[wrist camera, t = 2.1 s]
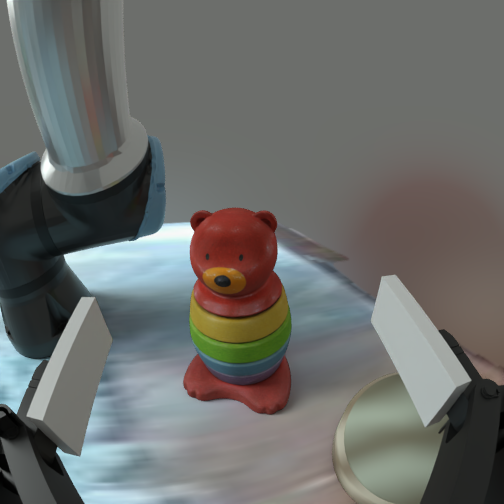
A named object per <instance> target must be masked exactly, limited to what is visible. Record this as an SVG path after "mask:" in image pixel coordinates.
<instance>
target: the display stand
mask: <svg viewBox="0 0 504 504" xmlns="http://www.w3.org/2000/svg"><path fill="white" fill-rule="evenodd" d="M448 420H449V418H448V416H447V414H446V415H445V416H444V417H443V418H442V420H441V421H440V422H438V423H435V424H433V425H431V426H428V427H426V428H425V426H424V424H423V422H422V420H421V418H420V416H419V414H418V411H417V409H416V407H415V405H414V403H413V401H412V399H411V397H410V395H409V393H408V391H407V389H406V387H405V385H404V383H403V381H402V379H401V377H400V375H399V373H398V372H396V373H392V374H388V375H385V376H382V377H380V378H378V379H376V380H374V381H372V382H371V383H369V384H367V385H366V386H365V387H364V388H362V389H361V390H360V391H359V392H358V393H357V394H356V395H355V396H354V397H353V399H352V400H351V401H350V403H349V404H348V406H347V408H346V410H345V412H344V414H343V416H342V418H341V420H340V422H339V425H338V427H337V430H336V432H335V435H334V440H333V447H332V458H333V465H334V469H335V473H336V475H337V478H338V480H339V482H340V484H341V485H342V487H343V489H344V490H345V491H346V492H347V494H348V495H349V496H350V497H351V498H352V499H353V500H354V501H355V502H357V503H358V504H420V502H421V499H422V497H423V494H424V492H425V489H426V487H427V484H428V481H429V479H430V476H431V473H432V470H433V467H434V464H435V461H436V458H437V455H438V452H439V448H440V445H441V441H442V438H443V434H444V430H445V429H444V430H443V431H442V432H441V433H440V434H439V433H438V432H439V430H440V429H441V428H442V426H443V425H444V424H445V423H446V422H447V421H448Z"/></svg>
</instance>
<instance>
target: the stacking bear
mask: <svg viewBox="0 0 504 504" xmlns="http://www.w3.org/2000/svg"><path fill="white" fill-rule="evenodd" d="M190 223H191V227H192V228H193V230H194V235H193V237H192V240H191V245H190V260H191V265H192V268H193V270H194V273H195V274H196V276H197V277H198V280H197V281H196V283H195V285H194V289H193V291H192V295H191V302H190V315H189V323H190V333H191V337H192V341H193V344H194V346H195V349H196V351H197V353H198V354H197V355H196V356H195V358H194V359H193V360H192V362H191V363H190V365H189V367H188V369H187V371H186V373H185V376H184V381H183V384H184V388H185V389H186V390H187V393H188V395H189V396H191V397H193V398H197V399H198V400H201V401H208V400H212V399H218V398H228V399H233V400H237V401H240V402H242V403H244V404H245V405H247V406H248V407H249V408H250V409H252V410H253V411H255V412H257V413H267V414H273V413H275V412H276V411H278V410H281V409H283V408H284V407H285V405H286V404H287V401H288V398H289V394H290V388H291V375H290V369H289V365H288V362H287V359H286V357H285V352H286V350H287V347H288V343H289V339H290V335H291V314H290V308H289V305H288V301H287V296H286V293H285V290H284V287H283V285H282V283H281V280H280V279H279V277H278V276H277V274H276V273H275V272H274V271H273V269H274V266H275V263H276V260H277V240H276V236H275V233H274V232H275V230H276V228H277V221H276V218H275V216H274V215H273V214H272V213H270V212H268V211H259V212H257V213H255V212H253V211H250V210H247V209H242V208H228V209H223V210H219V211H217V212H215V213H210V212H208V211H204V210H202V211H198V212H196V213H194V215H193V216H192V218H191V221H190Z"/></svg>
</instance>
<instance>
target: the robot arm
mask: <svg viewBox="0 0 504 504" xmlns="http://www.w3.org/2000/svg"><path fill="white" fill-rule="evenodd" d="M7 5H8V12H9V19H10V25H11V30H12V35H13V40H14V45H15V49H16V54H17V58H18V62H19V66H20V70H21V74H22V77H23V81H24V84H25V88H26V91H27V95H28V98H29V101H30V104H31V107H32V110H33V113H34V116H35V119H36V122H37V125H38V127H39V130H40V133H41V135H42V138H43V141H44V143H45V146H46V150H45V152H44V154H43V157H42V160H41V162H39V161H40V157H39V156H38V154H37V153H36V152H32V153H30V154H28V155H25V156H23V157H21V158H19V159H17V160H16V161H13V162H12V163H10V164H8V165H6V166H4V167H3V168H1V169H0V307H1V312H2V317H3V321H4V324H5V330H6V333H7V336H8V338H9V340H10V341H11V343H12V344H13V346H14V348H15V349H16V350H17V351H18V352H19V353H20V354H22V355H24V356H26V357H30V358H44V357H49V356H51V358H50V360H49V361H47V360H43V361H42V363H41V364H40V365H39V366H38V367H37V368H36V370H35V372H34V374H33V376H32V380H31V381H30V383H29V385H28V387H29V388H27V390H26V392H25V395H24V397H23V400H22V402H21V405H20V407H19V410H18V412H17V415H16V414H15V413H14V412H13V411H12V410H11V409H10V407H8V406H7V405H5V404H0V504H84V502H83V500H82V499H81V497H80V495H79V494H78V492H77V490H76V488H75V486H74V485H73V483H72V481H71V479H70V477H69V475H68V473H67V471H66V469H65V467H64V465H63V463H62V461H61V459H60V457H59V456H58V454H57V453H56V449H57V447H59V448H60V449H61V450H62V451H63V452H64V453H68V454H72V455H76V456H80V455H81V451H82V446H83V442H84V438H85V433H86V429H87V425H88V421H89V417H90V414H91V410H92V406H93V403H94V399H95V395H96V392H97V389H98V385H99V382H100V379H101V375H102V372H103V369H104V366H105V363H106V359H107V356H108V353H109V350H110V347H111V344H112V341H113V339H112V337H111V334H110V332H109V330H108V327H107V325H106V323H105V320H104V318H103V315H102V313H101V310H100V308H99V305H98V303H97V300H96V297H91V296H90V294H89V292H88V290H87V288H86V287H85V286H84V285H83V284H82V282H81V281H80V280H79V278H78V277H77V276H76V275H75V273H74V272H73V271H72V270H71V268H70V267H69V266H68V264H67V263H66V261H65V258H64V254H68V253H72V252H77V251H81V250H85V249H90V248H94V247H99V246H104V245H109V244H114V243H119V242H124V241H134V240H137V239H138V238H140V237H143V236H147V235H151V234H154V233H156V232H157V231H159V229H160V228H161V227H162V225H163V222H164V217H165V206H166V193H165V192H166V191H165V187H164V185H165V167H164V158H163V152H162V147H161V143H160V141H159V139H158V138H157V137H153V136H148V135H147V132H146V130H145V128H144V127H143V125H142V124H141V123H140V122H139V121H138V120H136V119H135V118H133V117H131V116H130V112H129V103H128V92H127V81H126V68H125V54H124V31H123V29H124V28H123V0H7ZM371 323H372V324H373V326H374V328H375V330H376V332H377V333H378V335H379V337H380V339H381V341H382V343H383V344H384V346H385V348H386V350H387V352H388V354H389V356H390V358H391V359H392V361H393V363H394V365H395V367H396V369H397V371H398V373H399V375H400V377H401V379H402V381H403V383H404V385H405V387H406V389H407V391H408V393H409V395H410V397H411V399H412V401H413V403H414V405H415V407H416V409H417V411H418V414H419V416H420V418H421V420H422V422H423V424H424V426H425V428H426V427H428V426H431V425H433V424H435V423H438V422H440V421H441V420H442V418H443V417H444V416H445V415H446V414H447V416H448V418H449V420H448V421H447V422H446V423H445V424H444V425H443V426H442V428H441V429H440V430H439V432H438V433H439V434H440V433H441V432H442V431H443V430H444V429H445V430H444V434H443V438H442V441H441V445H440V448H439V452H438V455H437V458H436V461H435V464H434V467H433V470H432V473H431V476H430V479H429V481H428V484H427V487H426V489H425V492H424V494H423V497H422V499H421V502H420V504H504V385H502V386H498V385H497V384H496V383H495V382H494V381H492V380H490V379H482V377H481V376H480V375H479V373H478V372H477V370H476V369H475V367H474V366H473V364H472V363H471V361H470V360H469V358H468V357H467V355H466V354H465V353H464V351H463V350H462V348H461V347H459V344H458V342H457V341H456V340H455V338H454V337H453V336H452V335H451V334H450V333H448V332H447V331H445V330H439V331H438V330H437V328H436V327H435V326H434V324H433V323H432V322H431V320H430V319H429V317H428V316H427V315H426V313H425V312H424V311H423V309H422V308H421V307H420V305H419V304H418V303H417V301H416V300H415V299H414V298H413V296H412V295H411V294H410V292H409V291H408V290H407V289H406V288H405V286H404V285H403V284H402V282H401V281H400V280H399V279H398V277H397V276H396V275H390V276H382V278H381V283H380V287H379V291H378V295H377V299H376V303H375V307H374V310H373V314H372V318H371Z"/></svg>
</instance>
